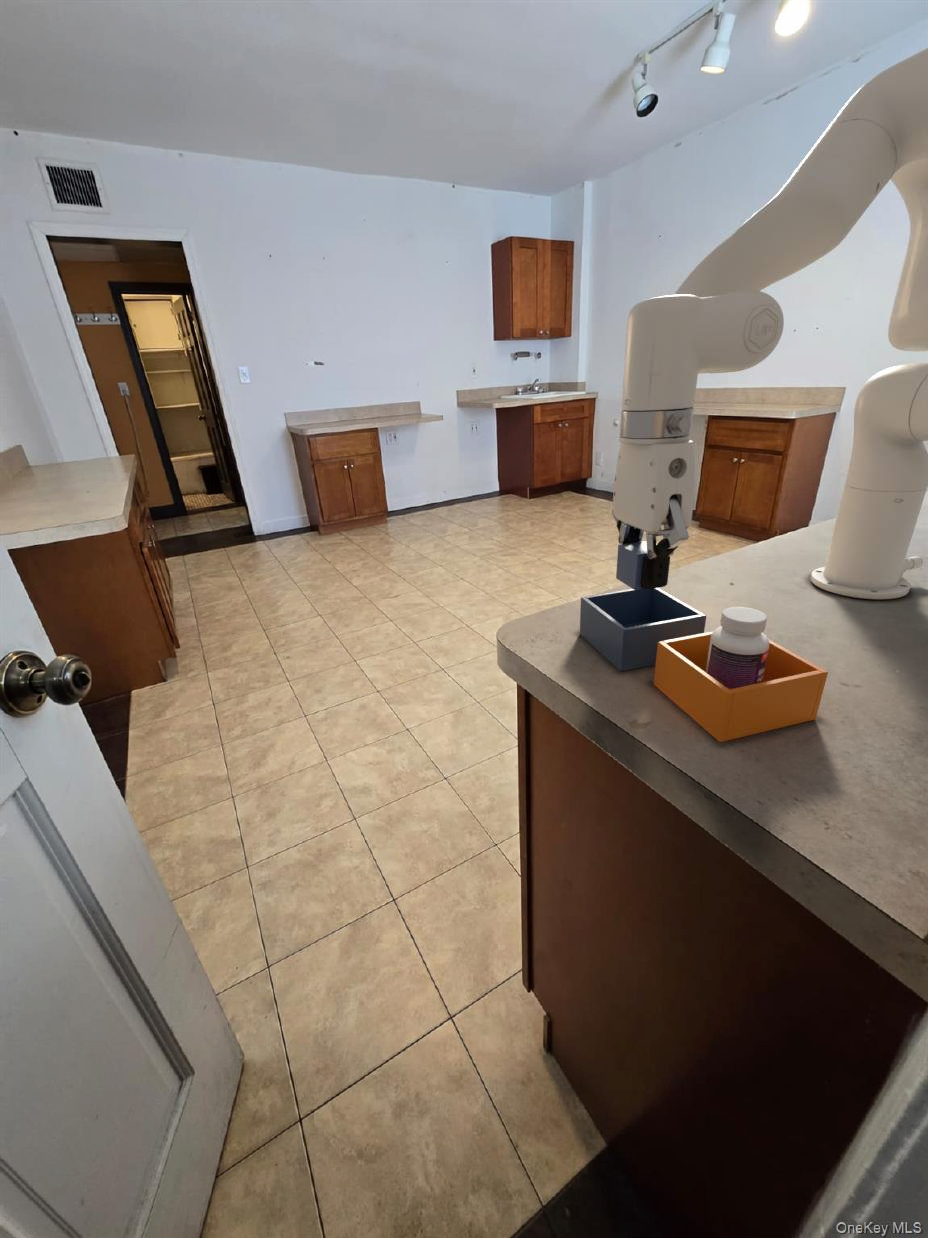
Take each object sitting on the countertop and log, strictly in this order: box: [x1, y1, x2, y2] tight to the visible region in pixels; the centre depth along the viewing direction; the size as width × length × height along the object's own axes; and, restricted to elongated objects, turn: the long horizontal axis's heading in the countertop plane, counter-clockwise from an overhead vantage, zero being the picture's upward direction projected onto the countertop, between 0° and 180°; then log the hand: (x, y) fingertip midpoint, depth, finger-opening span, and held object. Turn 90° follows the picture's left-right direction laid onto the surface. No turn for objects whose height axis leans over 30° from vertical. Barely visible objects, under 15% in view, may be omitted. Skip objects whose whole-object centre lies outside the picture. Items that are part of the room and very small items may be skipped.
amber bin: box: [653, 630, 829, 743], centre depth 54 cm, size 11×11×6 cm
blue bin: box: [579, 587, 707, 672], centre depth 67 cm, size 11×11×6 cm
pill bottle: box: [705, 606, 770, 690], centre depth 53 cm, size 5×5×10 cm
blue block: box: [615, 540, 672, 590], centre depth 64 cm, size 4×4×4 cm
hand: (641, 578), depth 65 cm, fingers closed on blue block, 4 cm apart
